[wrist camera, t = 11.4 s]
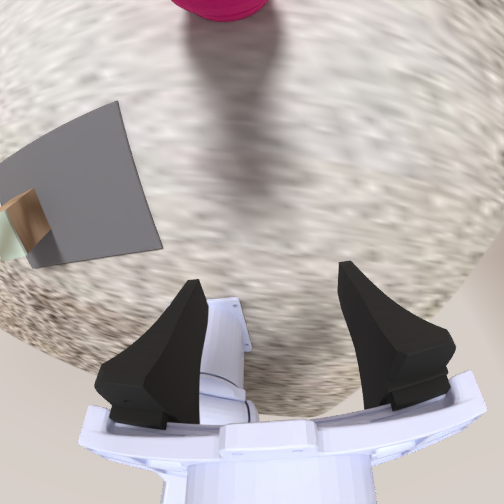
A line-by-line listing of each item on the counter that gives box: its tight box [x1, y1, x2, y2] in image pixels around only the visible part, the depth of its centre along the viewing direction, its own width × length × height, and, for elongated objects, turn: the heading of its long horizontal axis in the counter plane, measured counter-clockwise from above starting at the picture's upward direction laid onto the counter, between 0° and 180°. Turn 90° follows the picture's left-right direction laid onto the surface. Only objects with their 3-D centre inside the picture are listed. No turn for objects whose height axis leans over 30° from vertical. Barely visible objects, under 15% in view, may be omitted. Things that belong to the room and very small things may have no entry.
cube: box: [0, 188, 51, 261], centre depth 20 cm, size 5×5×5 cm
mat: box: [0, 101, 163, 268], centre depth 22 cm, size 14×20×1 cm
